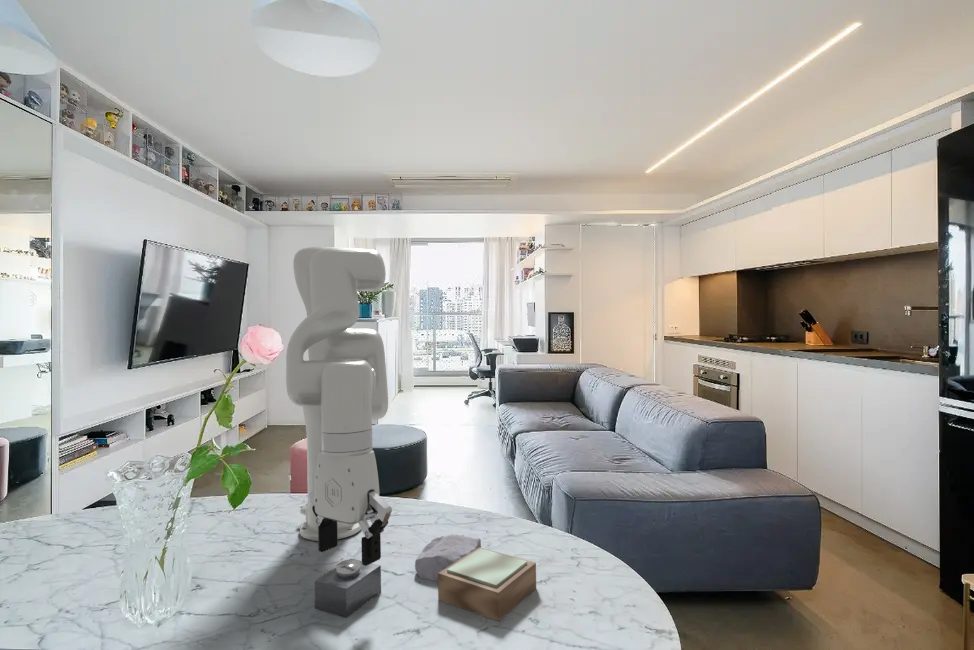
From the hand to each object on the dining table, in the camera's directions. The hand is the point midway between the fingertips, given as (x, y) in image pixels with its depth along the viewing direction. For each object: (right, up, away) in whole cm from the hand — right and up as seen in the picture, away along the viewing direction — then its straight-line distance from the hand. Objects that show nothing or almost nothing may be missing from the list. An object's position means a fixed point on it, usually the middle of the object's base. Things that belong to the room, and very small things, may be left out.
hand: (349, 555), depth 77 cm
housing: (0, -7, +1) cm, 7 cm away
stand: (+21, -7, +2) cm, 22 cm away
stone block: (+14, -8, +12) cm, 20 cm away
